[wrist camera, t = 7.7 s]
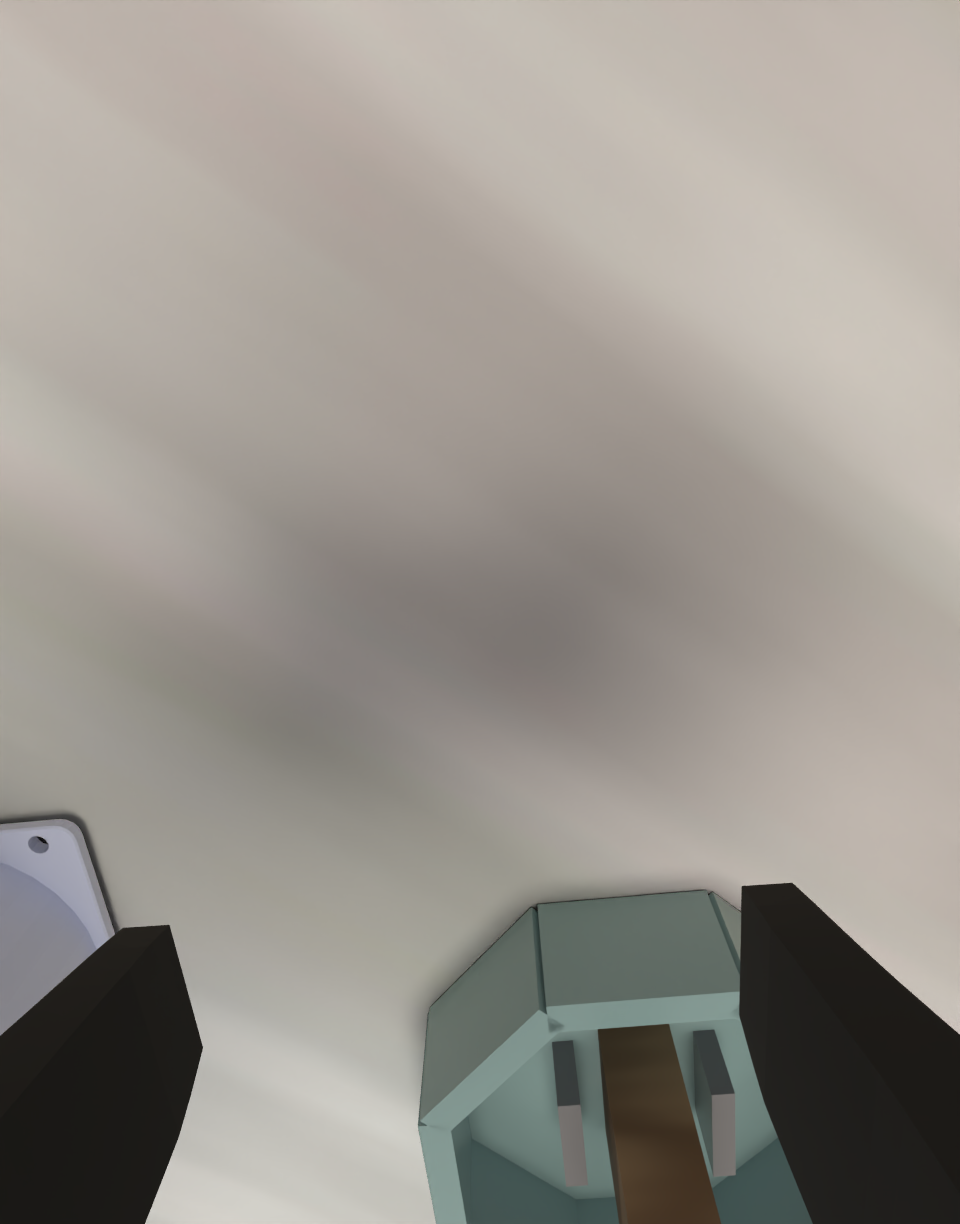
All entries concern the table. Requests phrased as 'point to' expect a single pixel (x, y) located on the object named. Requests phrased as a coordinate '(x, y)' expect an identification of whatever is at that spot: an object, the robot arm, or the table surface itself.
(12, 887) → the robot arm
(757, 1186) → the bowl
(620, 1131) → the wooden block
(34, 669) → the table surface
